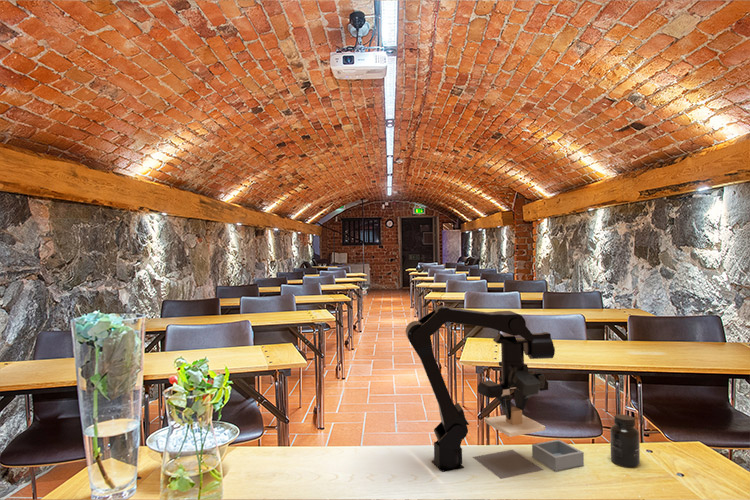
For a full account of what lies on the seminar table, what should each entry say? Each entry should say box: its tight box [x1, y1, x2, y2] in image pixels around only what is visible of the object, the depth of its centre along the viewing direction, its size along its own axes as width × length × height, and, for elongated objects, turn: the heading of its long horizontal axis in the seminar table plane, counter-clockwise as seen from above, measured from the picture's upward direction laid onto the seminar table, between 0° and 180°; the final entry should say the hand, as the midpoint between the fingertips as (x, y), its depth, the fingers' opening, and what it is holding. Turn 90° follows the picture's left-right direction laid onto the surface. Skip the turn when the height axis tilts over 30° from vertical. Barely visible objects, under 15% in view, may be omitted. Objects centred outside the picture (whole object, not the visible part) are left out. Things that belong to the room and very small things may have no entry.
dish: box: [531, 439, 585, 473], centre depth 123 cm, size 9×9×4 cm
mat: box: [472, 449, 544, 479], centre depth 122 cm, size 13×13×1 cm
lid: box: [484, 406, 546, 438], centre depth 122 cm, size 11×11×4 cm
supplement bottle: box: [609, 413, 641, 468], centre depth 123 cm, size 7×7×12 cm
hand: (514, 418), depth 122 cm, fingers closed on lid, 3 cm apart
